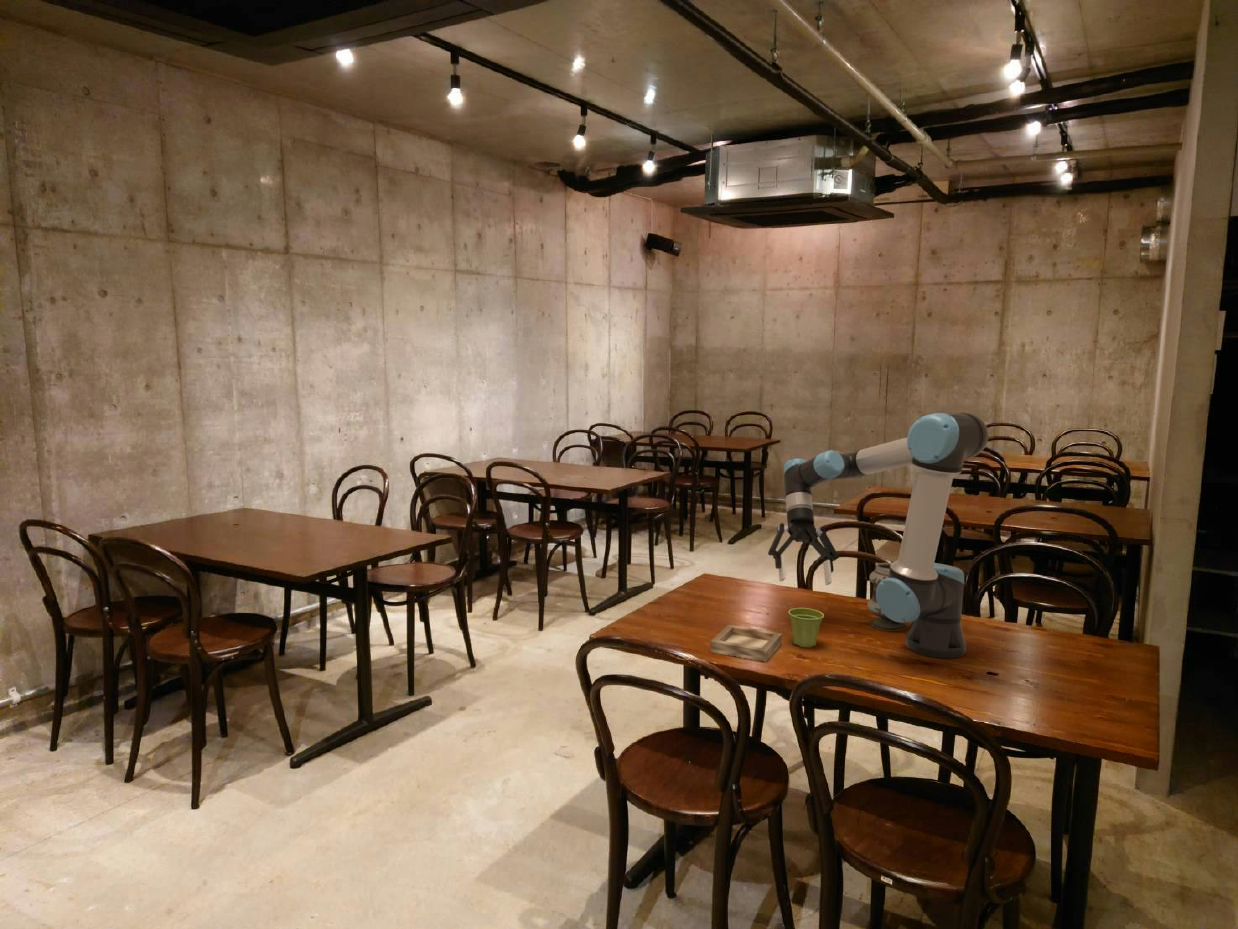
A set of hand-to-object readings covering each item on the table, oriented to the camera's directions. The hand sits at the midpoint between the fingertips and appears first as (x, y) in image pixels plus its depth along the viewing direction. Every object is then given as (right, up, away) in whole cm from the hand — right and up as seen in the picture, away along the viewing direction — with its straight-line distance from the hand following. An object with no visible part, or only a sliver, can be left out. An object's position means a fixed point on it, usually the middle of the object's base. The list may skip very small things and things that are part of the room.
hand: (805, 582), depth 217 cm
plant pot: (-1, -17, -4) cm, 17 cm away
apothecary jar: (+27, -15, +12) cm, 33 cm away
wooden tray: (-18, -16, -8) cm, 26 cm away
